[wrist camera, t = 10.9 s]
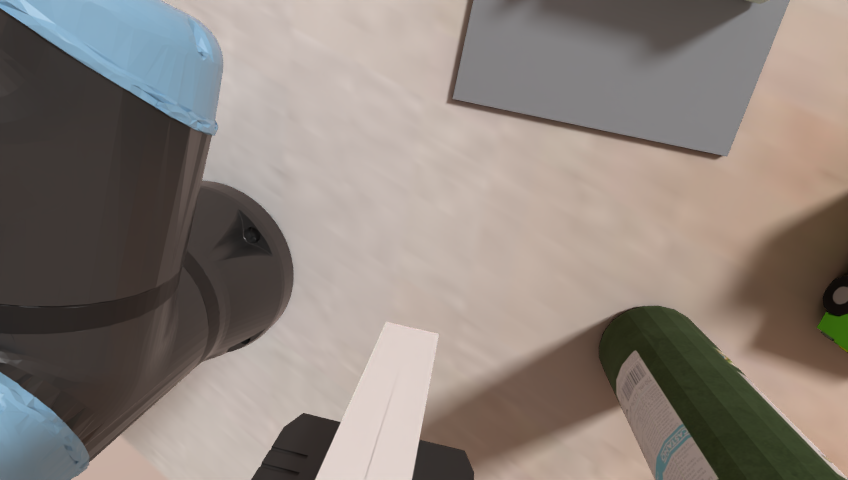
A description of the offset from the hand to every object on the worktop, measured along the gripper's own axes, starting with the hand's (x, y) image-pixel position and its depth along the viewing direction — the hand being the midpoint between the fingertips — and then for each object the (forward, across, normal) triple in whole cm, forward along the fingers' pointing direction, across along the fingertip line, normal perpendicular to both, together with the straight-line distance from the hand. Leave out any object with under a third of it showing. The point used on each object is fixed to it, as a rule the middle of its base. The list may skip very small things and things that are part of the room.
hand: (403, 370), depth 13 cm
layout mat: (+24, +8, +18) cm, 31 cm away
